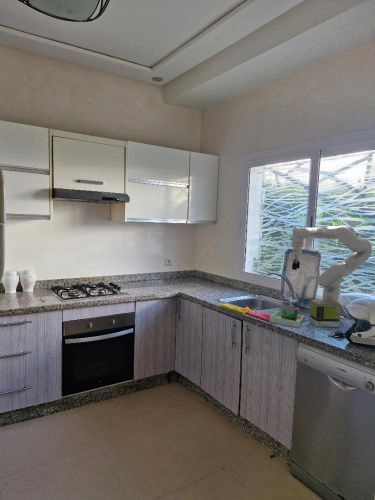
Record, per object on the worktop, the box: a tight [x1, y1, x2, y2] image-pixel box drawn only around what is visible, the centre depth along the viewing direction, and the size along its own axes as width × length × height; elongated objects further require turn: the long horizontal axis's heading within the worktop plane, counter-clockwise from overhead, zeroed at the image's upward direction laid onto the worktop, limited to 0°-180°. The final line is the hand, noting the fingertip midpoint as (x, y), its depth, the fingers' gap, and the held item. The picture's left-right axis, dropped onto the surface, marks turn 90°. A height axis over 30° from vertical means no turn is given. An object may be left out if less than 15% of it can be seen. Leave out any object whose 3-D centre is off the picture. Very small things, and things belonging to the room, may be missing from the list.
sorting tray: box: [268, 310, 306, 329], centre depth 222 cm, size 18×18×4 cm
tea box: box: [309, 299, 341, 328], centre depth 219 cm, size 15×10×15 cm, turn 92°
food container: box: [280, 302, 300, 321], centre depth 221 cm, size 12×6×10 cm, turn 47°
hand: (295, 269), depth 248 cm, fingers open, 9 cm apart
